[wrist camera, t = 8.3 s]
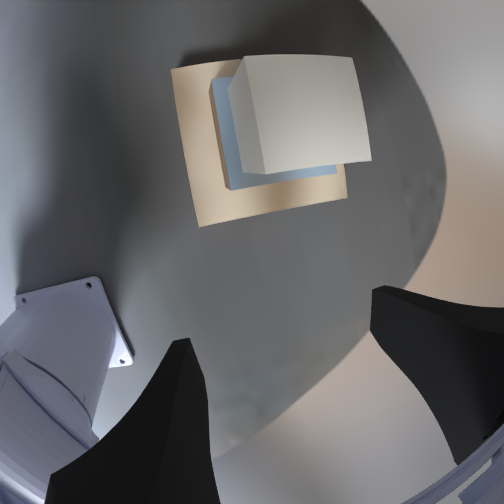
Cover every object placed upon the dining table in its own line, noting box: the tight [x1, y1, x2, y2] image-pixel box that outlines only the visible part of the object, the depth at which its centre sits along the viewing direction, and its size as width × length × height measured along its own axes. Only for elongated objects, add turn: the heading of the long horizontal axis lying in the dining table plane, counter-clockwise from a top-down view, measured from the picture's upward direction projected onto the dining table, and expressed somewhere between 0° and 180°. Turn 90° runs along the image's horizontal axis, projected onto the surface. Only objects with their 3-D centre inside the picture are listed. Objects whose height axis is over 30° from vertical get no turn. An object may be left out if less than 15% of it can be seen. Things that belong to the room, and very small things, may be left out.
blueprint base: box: [171, 59, 347, 227], centre depth 15 cm, size 10×10×4 cm
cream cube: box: [228, 54, 371, 174], centre depth 11 cm, size 4×4×4 cm
